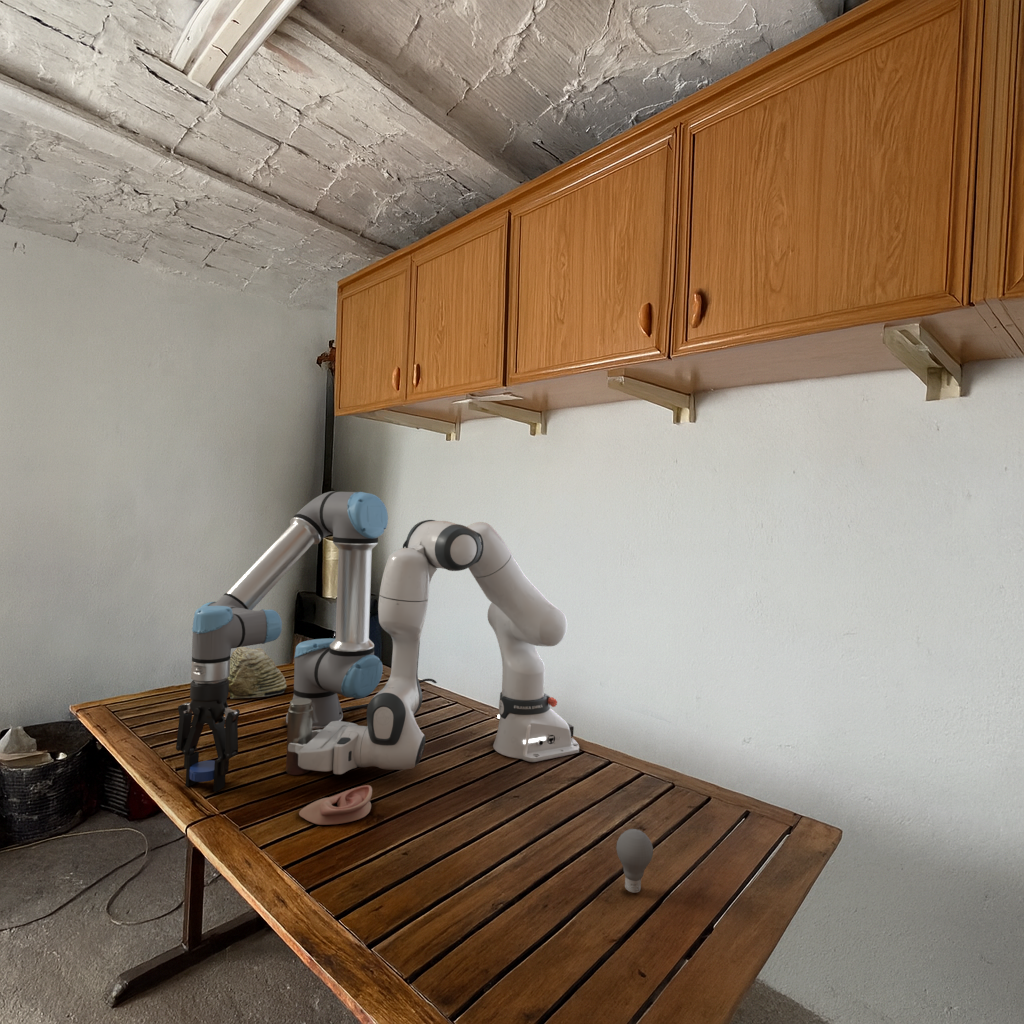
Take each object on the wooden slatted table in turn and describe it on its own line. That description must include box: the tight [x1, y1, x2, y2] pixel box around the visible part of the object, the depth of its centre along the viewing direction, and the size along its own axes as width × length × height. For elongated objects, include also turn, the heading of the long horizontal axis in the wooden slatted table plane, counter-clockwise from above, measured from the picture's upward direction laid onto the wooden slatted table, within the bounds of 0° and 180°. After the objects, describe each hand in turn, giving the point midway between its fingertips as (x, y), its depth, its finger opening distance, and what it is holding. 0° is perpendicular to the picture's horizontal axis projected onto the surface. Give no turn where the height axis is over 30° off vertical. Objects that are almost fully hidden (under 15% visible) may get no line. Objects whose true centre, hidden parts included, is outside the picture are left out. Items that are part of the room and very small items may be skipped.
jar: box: [285, 698, 313, 776], centre depth 146 cm, size 5×5×16 cm
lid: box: [189, 759, 215, 783], centre depth 136 cm, size 6×6×2 cm
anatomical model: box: [298, 784, 373, 826], centre depth 127 cm, size 13×4×12 cm
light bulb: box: [615, 828, 654, 894], centre depth 106 cm, size 6×6×10 cm
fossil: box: [228, 646, 288, 699], centre depth 198 cm, size 9×18×15 cm, turn 132°
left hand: (205, 786), depth 136 cm, fingers closed on lid, 6 cm apart
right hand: (295, 740), depth 146 cm, fingers closed on jar, 5 cm apart
